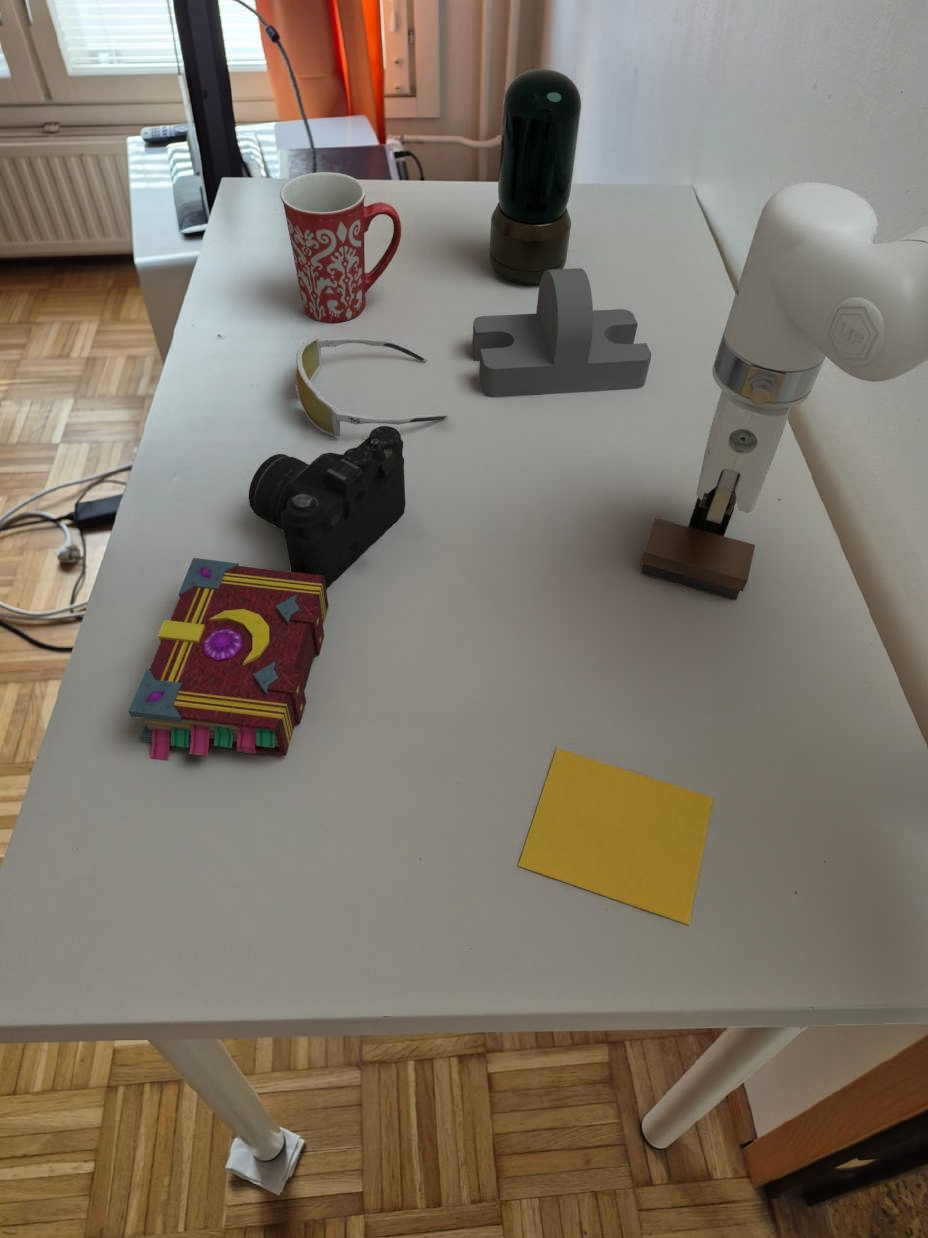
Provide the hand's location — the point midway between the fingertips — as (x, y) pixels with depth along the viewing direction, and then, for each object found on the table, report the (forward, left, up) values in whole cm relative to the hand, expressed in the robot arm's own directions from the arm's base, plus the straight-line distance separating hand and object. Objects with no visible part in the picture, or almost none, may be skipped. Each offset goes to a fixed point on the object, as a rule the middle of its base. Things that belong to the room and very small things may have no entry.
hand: (705, 531), depth 81 cm
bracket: (+20, -21, -2) cm, 29 cm away
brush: (0, +4, -1) cm, 4 cm away
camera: (+33, +11, -1) cm, 35 cm away
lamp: (+29, -39, -1) cm, 48 cm away
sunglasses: (+37, -8, -1) cm, 38 cm away
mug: (+46, -23, -2) cm, 51 cm away
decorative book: (+32, +29, -1) cm, 43 cm away
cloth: (+1, +31, -1) cm, 31 cm away
